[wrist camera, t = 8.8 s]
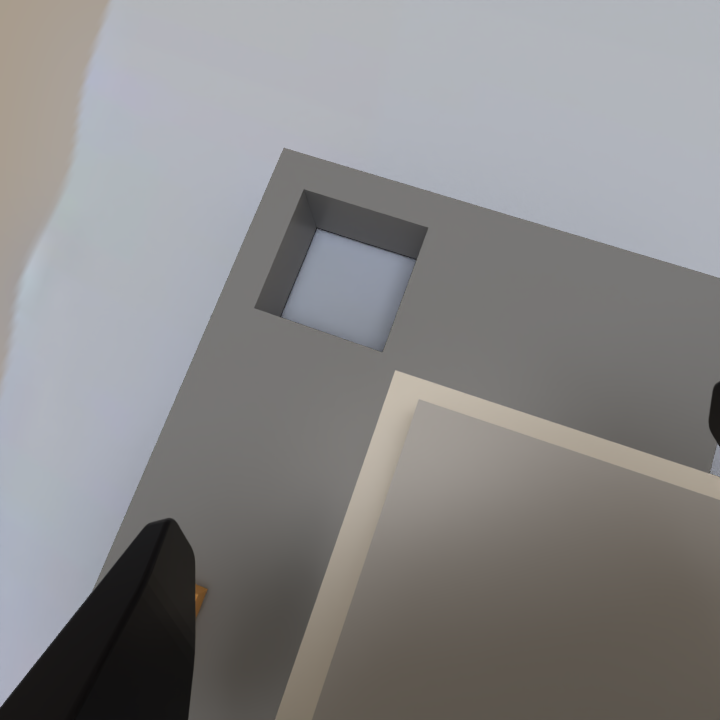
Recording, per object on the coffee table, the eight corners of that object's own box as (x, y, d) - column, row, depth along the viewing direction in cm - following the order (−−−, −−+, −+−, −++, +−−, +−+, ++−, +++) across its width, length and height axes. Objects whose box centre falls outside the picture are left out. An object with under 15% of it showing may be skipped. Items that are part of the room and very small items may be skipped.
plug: (474, 600, 16) (755, 1062, 3) (364, 557, 17) (232, 818, 4) (508, 485, 17) (858, 501, 4) (400, 448, 17) (394, 349, 4)
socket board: (563, 848, 17) (606, 947, 14) (109, 642, 20) (41, 679, 16) (705, 316, 21) (772, 280, 17) (298, 190, 23) (278, 134, 19)
